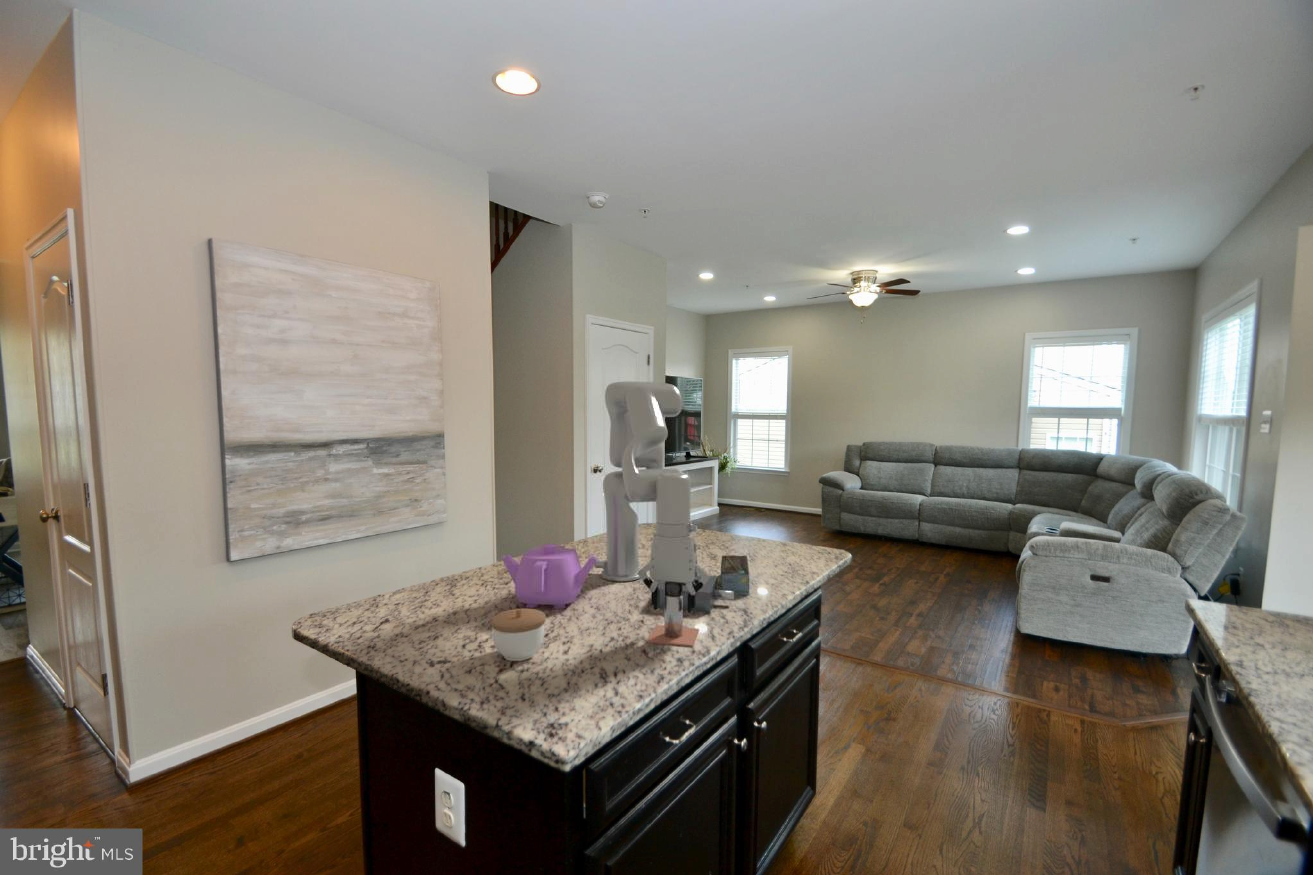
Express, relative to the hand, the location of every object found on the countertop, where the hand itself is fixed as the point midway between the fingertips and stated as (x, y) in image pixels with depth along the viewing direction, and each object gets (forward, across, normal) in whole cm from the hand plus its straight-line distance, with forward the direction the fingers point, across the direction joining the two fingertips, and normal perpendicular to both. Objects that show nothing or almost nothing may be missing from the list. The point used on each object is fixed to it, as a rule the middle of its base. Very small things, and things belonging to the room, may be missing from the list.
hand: (673, 608), depth 124 cm
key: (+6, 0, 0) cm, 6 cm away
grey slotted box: (+6, -2, -23) cm, 24 cm away
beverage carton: (+7, -10, -40) cm, 42 cm away
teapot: (+6, +36, -15) cm, 40 cm away
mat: (+6, 0, 0) cm, 6 cm away
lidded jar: (+6, +29, +16) cm, 34 cm away
